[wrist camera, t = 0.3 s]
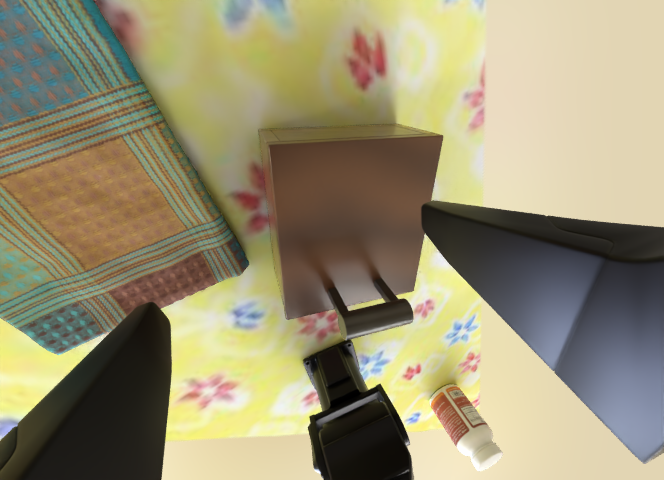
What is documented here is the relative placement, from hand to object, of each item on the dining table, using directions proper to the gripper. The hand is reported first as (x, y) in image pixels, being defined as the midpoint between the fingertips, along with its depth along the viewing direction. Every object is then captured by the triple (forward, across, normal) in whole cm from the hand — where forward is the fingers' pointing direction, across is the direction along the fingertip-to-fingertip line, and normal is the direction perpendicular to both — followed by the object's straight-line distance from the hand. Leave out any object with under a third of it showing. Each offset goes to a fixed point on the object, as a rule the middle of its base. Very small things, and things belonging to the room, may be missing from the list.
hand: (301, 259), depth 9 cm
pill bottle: (+14, -17, +50) cm, 55 cm away
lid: (+10, -5, +6) cm, 12 cm away
